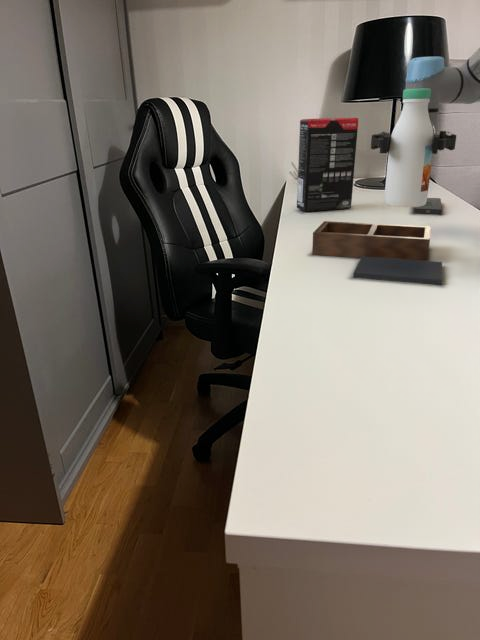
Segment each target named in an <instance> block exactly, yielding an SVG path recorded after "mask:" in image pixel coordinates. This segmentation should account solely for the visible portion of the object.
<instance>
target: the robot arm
mask: <svg viewBox="0 0 480 640" xmlns="http://www.w3.org/2000/svg"><path fill="white" fill-rule="evenodd" d="M421 88H428V89H431V95H430V98H413V99H430V100H429V101H430V102H429V103H428V114H429V119H430V122H431V125H432V128H433V134H434V144H433V153H432V154H433V155H437V154H438V151H444V150H445V149H446V150H449V151H454V150H455V149H456V143H457V134H455V133H452V132H450V131H447V130H439V132H438V133H439V134H438V133H437V123H438V115H439V111H440V110H439V109H440V105H445V104H447V105H454V104H456V105H457V104H458V105H460V104H461V105H462V104H463V105H471V104H474V103H480V47H479V48H478V49H477V50H476V51H475V52H474V53H473V54H472V55H471V56H470V57H469V58H468V59H467V60H466V61H465V62H464V63H463V64H461V66H459V67H453V66H452V67H450V66H446V65H445V58H444V57H443V56H418V57H414V58H412V59H411V60H409V62H408V64H407V70H406V77H405V89H421ZM405 89H404V90H405ZM391 135H392V133H391V134H390V132H385V131H382V132H379V133H374V134H372V135H371V137H370V140H371V141H370V149H371V150H376V149H379V154H387V153H389V146H390V140H391Z"/></svg>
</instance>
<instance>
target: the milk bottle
mask: <svg viewBox="0 0 480 640" xmlns="http://www.w3.org/2000/svg"><path fill="white" fill-rule="evenodd" d="M430 95H431V89H428V88H421V89H403V92H402V104H403V105H402V109H401V113H400V115H399V118H398V120H397V122H396V124H395V126H394V128H393V130H392V132H391V134H392V135H391V140H390V146H389V151H388V155H387V164H386V165H387V166H386V174H385V175H386V176H385V186H384V200H383V201H384V204H385V205H387V206H390V207H398V208H414V207H419V206H424V205H425V204H426V202H427V198H428V195H429V186H430V179H431V172H432V163H433V155H434V154H432V153H433V144H434V134H433V128H432V125H431V122H430V119H429V114H428V103H429V102H430V101H429V100H430V99H413V98H430Z"/></svg>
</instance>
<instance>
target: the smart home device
mask: <svg viewBox="0 0 480 640" xmlns="http://www.w3.org/2000/svg"><path fill="white" fill-rule="evenodd" d="M442 212H443V206H442V198H440V197H427V202H426V204H425V205H424V206H419V207H413V212H412V213H413V214H415V215H416V214H417V215H442Z"/></svg>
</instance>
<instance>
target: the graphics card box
mask: <svg viewBox="0 0 480 640" xmlns="http://www.w3.org/2000/svg"><path fill="white" fill-rule="evenodd" d="M358 129H359V118H358V117H328V118H327V117H326V118H324V117H323V118H303V119H300V120H299V141H298V142H299V143H298V167H297V189H296V191H297V193H296V209H298V210H300V211H302V212H318V211H320V212H321V211H332V210H333V211H334V210H335V211H336V210H345V209H351V208H352V202H353V191H354V177H355V164H356V153H357V152H356V151H357V142H358Z"/></svg>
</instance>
